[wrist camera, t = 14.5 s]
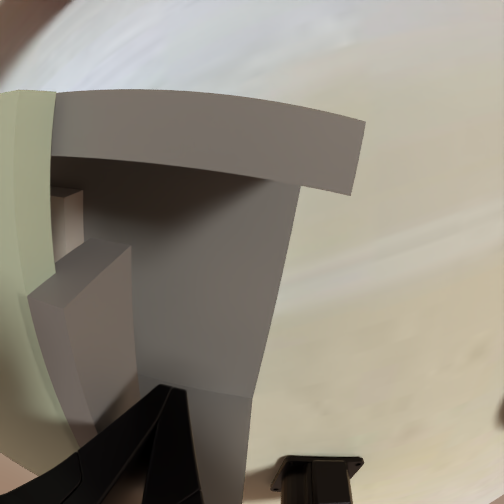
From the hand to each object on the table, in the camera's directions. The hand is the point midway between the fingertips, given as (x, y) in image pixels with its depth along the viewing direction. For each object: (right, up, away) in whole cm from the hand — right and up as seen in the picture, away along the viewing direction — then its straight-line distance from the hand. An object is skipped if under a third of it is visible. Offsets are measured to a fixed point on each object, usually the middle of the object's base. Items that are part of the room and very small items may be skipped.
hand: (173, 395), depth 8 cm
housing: (-6, +4, +7) cm, 9 cm away
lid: (-8, +2, +1) cm, 8 cm away
